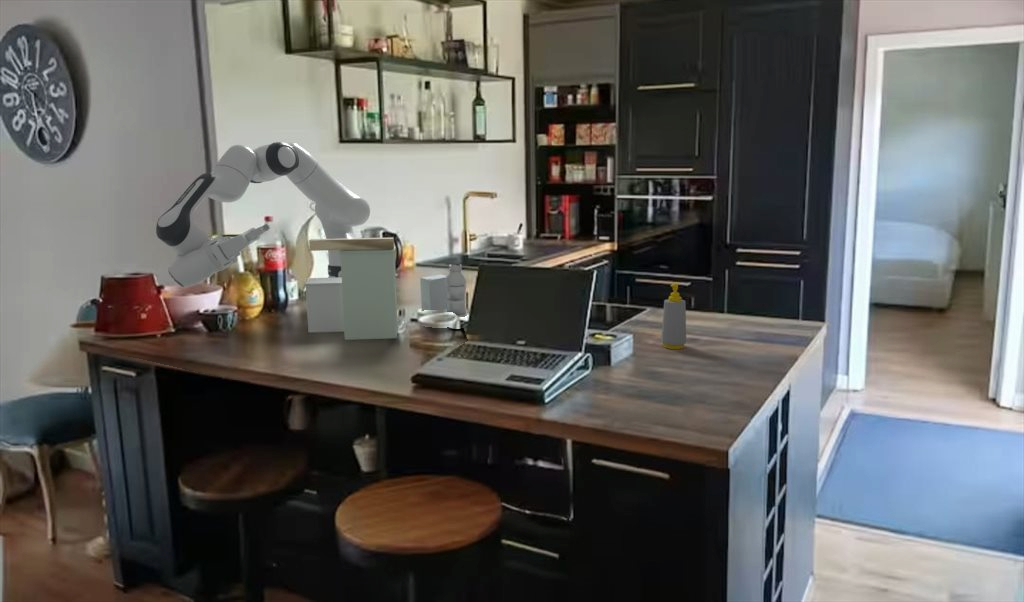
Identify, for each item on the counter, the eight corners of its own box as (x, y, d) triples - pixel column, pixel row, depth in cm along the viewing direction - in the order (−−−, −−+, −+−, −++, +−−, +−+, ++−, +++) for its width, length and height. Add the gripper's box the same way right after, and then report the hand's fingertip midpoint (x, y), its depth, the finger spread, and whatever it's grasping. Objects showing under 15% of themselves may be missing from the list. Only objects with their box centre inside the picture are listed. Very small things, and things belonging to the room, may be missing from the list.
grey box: (312, 325, 253) (309, 278, 250) (352, 324, 254) (350, 277, 251) (307, 332, 243) (304, 283, 240) (349, 331, 244) (346, 282, 241)
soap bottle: (657, 348, 221) (659, 284, 217) (665, 342, 227) (666, 280, 223) (682, 350, 217) (684, 286, 214) (689, 345, 223) (691, 281, 220)
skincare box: (442, 318, 261) (441, 273, 258) (453, 321, 256) (452, 276, 253) (420, 322, 255) (419, 276, 253) (431, 325, 251) (429, 279, 248)
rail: (311, 249, 234) (310, 239, 233) (394, 247, 236) (393, 237, 235) (309, 250, 231) (309, 240, 230) (393, 248, 233) (393, 238, 232)
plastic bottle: (467, 331, 242) (465, 266, 238) (444, 331, 242) (443, 266, 239) (468, 326, 249) (467, 263, 245) (446, 327, 249) (445, 263, 245)
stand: (346, 332, 243) (342, 247, 238) (398, 330, 244) (395, 246, 239) (343, 340, 233) (339, 251, 228) (397, 338, 235) (394, 250, 230)
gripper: (237, 255, 240) (277, 233, 240) (221, 266, 220) (265, 241, 220) (225, 237, 239) (266, 214, 239) (208, 246, 219) (252, 221, 219)
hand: (265, 227), depth 229 cm, fingers open, 8 cm apart
